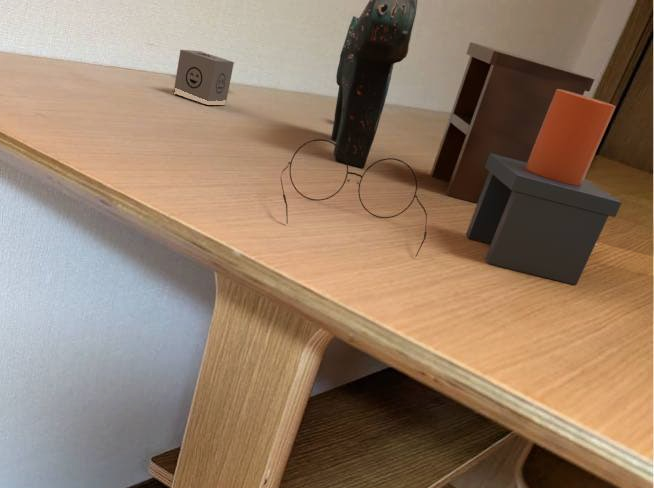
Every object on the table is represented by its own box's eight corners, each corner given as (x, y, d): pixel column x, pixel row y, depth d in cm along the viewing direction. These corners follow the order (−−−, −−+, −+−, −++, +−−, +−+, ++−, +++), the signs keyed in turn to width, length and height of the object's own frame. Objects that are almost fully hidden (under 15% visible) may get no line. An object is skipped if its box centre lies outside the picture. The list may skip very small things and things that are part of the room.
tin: (570, 177, 70) (603, 101, 67) (589, 190, 67) (625, 109, 63) (518, 163, 70) (549, 85, 66) (534, 175, 66) (567, 93, 63)
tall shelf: (510, 195, 100) (561, 67, 92) (536, 218, 91) (594, 79, 83) (426, 173, 99) (470, 41, 91) (443, 194, 90) (494, 50, 82)
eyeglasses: (428, 261, 64) (452, 195, 61) (272, 221, 63) (289, 152, 60) (412, 226, 73) (432, 167, 70) (275, 190, 72) (290, 129, 69)
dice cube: (192, 94, 107) (200, 51, 104) (225, 105, 106) (234, 62, 103) (173, 94, 103) (180, 49, 100) (207, 105, 102) (215, 60, 99)
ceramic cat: (374, 174, 90) (439, -43, 79) (317, 159, 89) (375, -62, 78) (363, 144, 106) (416, -40, 95) (315, 131, 106) (363, -55, 95)
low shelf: (550, 256, 76) (584, 178, 72) (582, 287, 69) (622, 202, 65) (459, 233, 75) (489, 152, 71) (482, 262, 68) (517, 174, 64)
